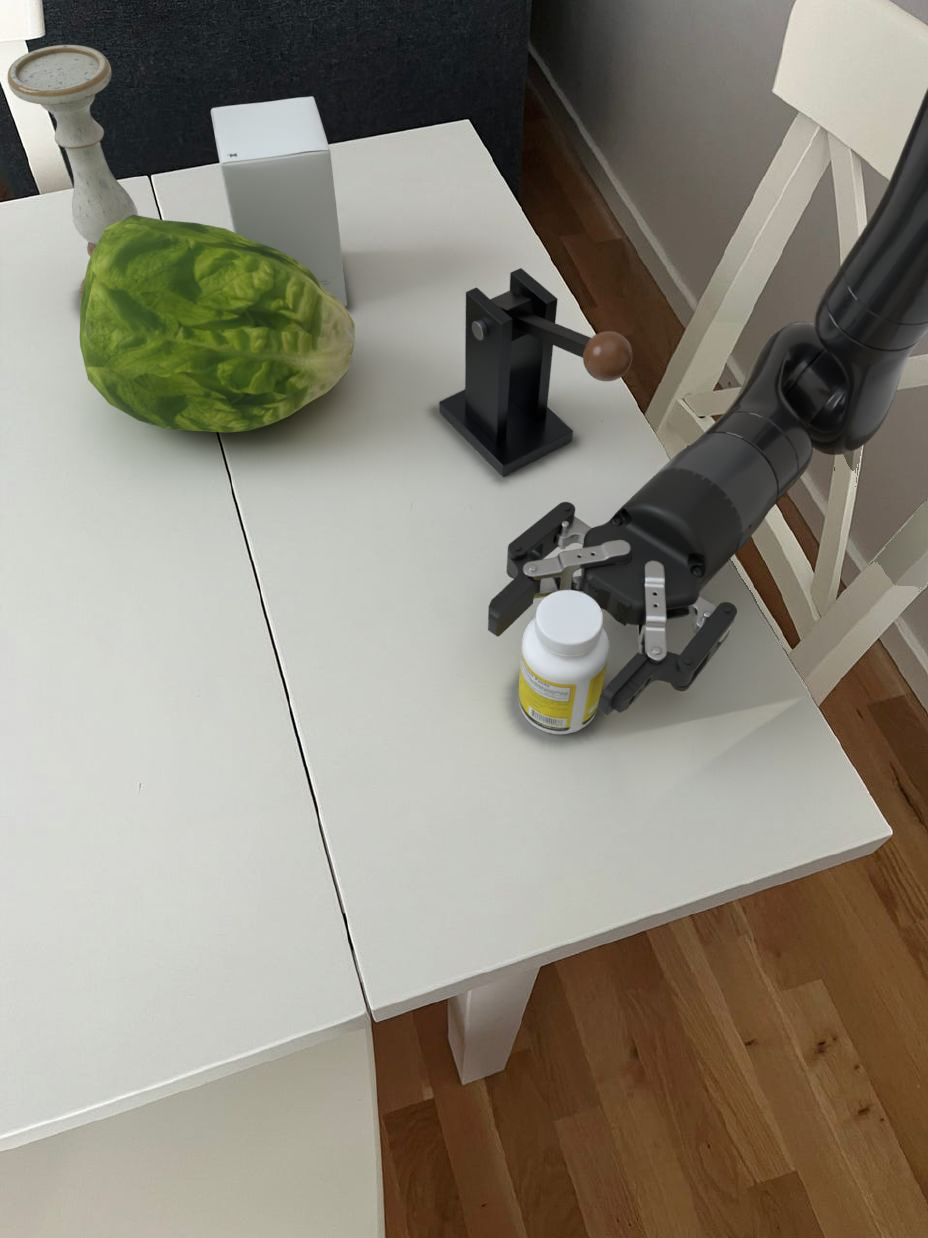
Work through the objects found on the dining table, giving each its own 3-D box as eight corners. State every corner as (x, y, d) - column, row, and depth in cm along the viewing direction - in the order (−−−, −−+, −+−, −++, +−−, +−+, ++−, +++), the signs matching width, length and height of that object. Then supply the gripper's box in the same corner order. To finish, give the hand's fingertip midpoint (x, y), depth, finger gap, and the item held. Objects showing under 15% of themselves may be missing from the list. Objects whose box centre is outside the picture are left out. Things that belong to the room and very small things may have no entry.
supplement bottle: (579, 658, 68) (595, 570, 60) (610, 724, 65) (631, 640, 57) (505, 679, 67) (511, 592, 59) (533, 746, 64) (544, 665, 56)
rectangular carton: (350, 308, 90) (332, 149, 78) (251, 323, 89) (217, 164, 76) (334, 250, 95) (315, 92, 83) (241, 263, 94) (208, 105, 81)
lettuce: (334, 496, 80) (380, 332, 70) (58, 450, 74) (66, 263, 64) (327, 386, 91) (367, 231, 81) (88, 338, 85) (98, 163, 75)
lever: (644, 376, 65) (641, 330, 63) (606, 395, 64) (602, 349, 62) (519, 323, 75) (513, 282, 73) (485, 339, 74) (478, 298, 72)
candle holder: (199, 288, 91) (141, 60, 75) (128, 338, 87) (50, 108, 71) (133, 254, 94) (63, 28, 78) (61, 301, 90) (-28, 72, 74)
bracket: (572, 441, 80) (589, 310, 70) (502, 477, 78) (509, 347, 67) (506, 379, 84) (513, 247, 74) (439, 412, 82) (435, 280, 72)
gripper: (617, 422, 66) (457, 565, 59) (805, 529, 61) (653, 700, 54) (604, 498, 72) (457, 636, 65) (773, 602, 67) (634, 764, 60)
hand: (546, 665), depth 59 cm, fingers open, 8 cm apart
